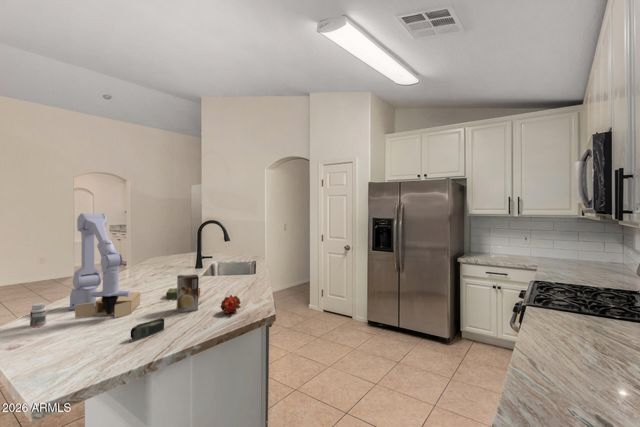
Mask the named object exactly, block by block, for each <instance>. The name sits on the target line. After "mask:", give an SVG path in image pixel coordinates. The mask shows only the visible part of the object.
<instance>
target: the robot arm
mask: <svg viewBox="0 0 640 427" xmlns="http://www.w3.org/2000/svg"><path fill="white" fill-rule="evenodd" d="M76 220H77V221H76V222H77V223H76V225H77V226H76V227H77V232H80V233H81V236H80V237H81V267H80V268H79V269H77V270H75V272H74V273H73V278H72V285H73V286H72V287H73V288H72V290H71V291H70V294H69V308H68V310H69V311H70V310H71V311H75V305H77V304H85V303H94V302H95V304H96V301H97V298H101V297H102V299H101V301H102V302H103V304H104V306H105V308H106V312H107V314H111V313H112V311H113V308H114V305H115V303H116V301H117V299H118V297H123V296H126V297H129V296H130V292H131V291H130V290H119V284H120V283H119V280H120V279H119V278H120V276H119V275H120V267H121V266H122V264H123V258H122V254H121V253H119V252H118V251H117V250H116V248H115V246H114V243H113V241H112V240H111V239H109V237H108V233H107V230H106V225H107V222H108V219H107V215H106V214H105V213H83V212H82V213H80V214H79V215H78V216H77V219H76ZM95 238H96V240H97V241H98V243H97V244H96V246H97V249H98V252H99V254H100V257H101V258H100V267H101V270H100V269H99V268H98V267H95ZM101 272H102V275H101ZM101 284H102V288H101V289H102V291H100V290H99V291H97V288H99V286H100V285H101ZM94 309H95V305H94Z"/></svg>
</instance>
